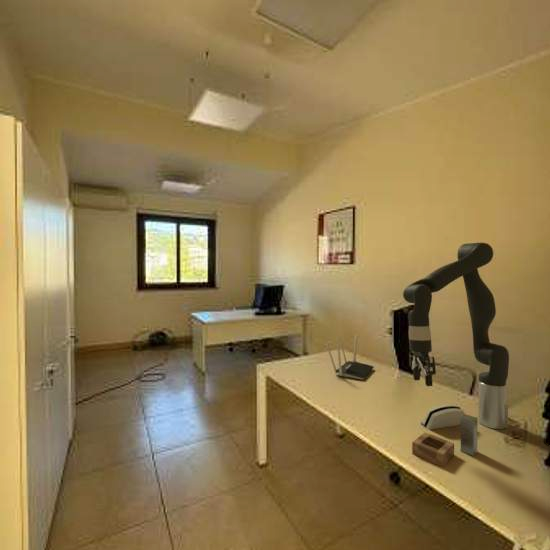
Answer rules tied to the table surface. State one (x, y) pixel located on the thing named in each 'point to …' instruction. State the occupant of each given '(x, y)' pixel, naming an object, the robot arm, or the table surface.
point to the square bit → (469, 434)
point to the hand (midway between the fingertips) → (422, 382)
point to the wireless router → (350, 364)
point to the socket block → (433, 449)
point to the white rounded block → (443, 416)
